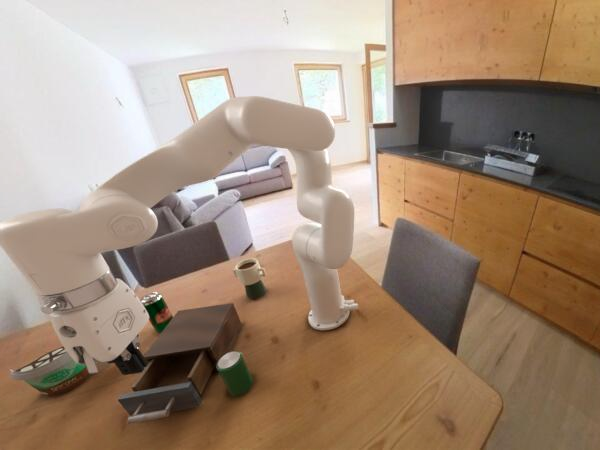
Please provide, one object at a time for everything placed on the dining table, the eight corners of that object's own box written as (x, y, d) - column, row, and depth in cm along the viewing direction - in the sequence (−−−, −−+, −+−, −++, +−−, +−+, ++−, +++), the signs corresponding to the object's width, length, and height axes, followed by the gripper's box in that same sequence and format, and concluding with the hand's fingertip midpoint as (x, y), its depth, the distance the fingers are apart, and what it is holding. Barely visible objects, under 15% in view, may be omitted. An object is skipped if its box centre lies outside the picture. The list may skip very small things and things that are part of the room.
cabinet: (221, 370, 71) (209, 346, 67) (158, 381, 69) (142, 357, 65) (242, 324, 85) (233, 302, 81) (189, 332, 83) (178, 310, 79)
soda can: (165, 334, 83) (147, 303, 78) (151, 332, 84) (133, 302, 79) (180, 322, 87) (164, 292, 82) (167, 320, 88) (150, 290, 83)
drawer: (191, 425, 59) (178, 405, 56) (119, 439, 57) (102, 419, 54) (225, 352, 75) (216, 333, 72) (170, 361, 73) (159, 342, 70)
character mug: (276, 287, 101) (267, 257, 95) (267, 301, 94) (257, 269, 89) (247, 288, 101) (236, 258, 95) (236, 301, 95) (224, 270, 89)
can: (255, 373, 70) (244, 348, 66) (249, 393, 65) (237, 367, 61) (233, 377, 69) (221, 352, 65) (225, 398, 65) (211, 372, 61)
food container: (39, 412, 64) (10, 384, 59) (33, 398, 67) (5, 371, 62) (109, 369, 73) (89, 343, 68) (102, 359, 76) (81, 333, 71)
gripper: (65, 321, 36) (130, 407, 44) (141, 259, 49) (180, 334, 57) (-3, 330, 35) (76, 417, 43) (93, 265, 48) (140, 340, 56)
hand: (136, 369), depth 50 cm, fingers closed
